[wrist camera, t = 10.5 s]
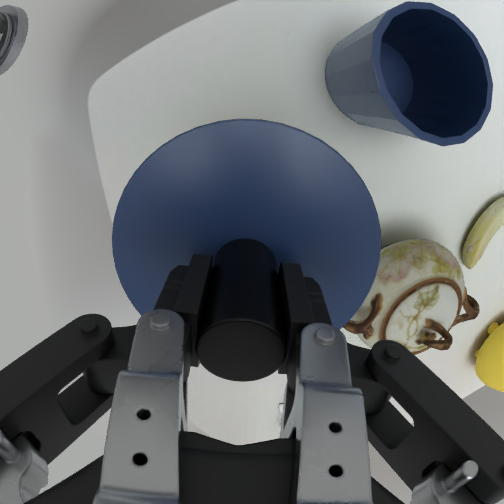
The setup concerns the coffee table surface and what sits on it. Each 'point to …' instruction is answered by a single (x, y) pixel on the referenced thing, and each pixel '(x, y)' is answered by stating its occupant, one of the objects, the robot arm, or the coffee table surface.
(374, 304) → the sugar bowl
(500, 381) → the teapot
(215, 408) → the coffee table surface
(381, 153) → the coffee table surface
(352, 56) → the pot
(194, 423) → the coffee table surface
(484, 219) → the fruit
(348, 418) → the robot arm
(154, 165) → the lid
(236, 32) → the coffee table surface
